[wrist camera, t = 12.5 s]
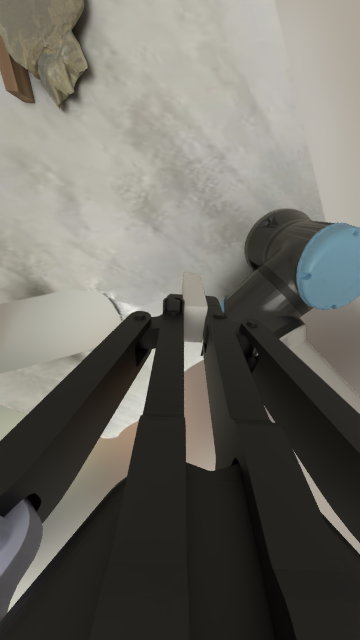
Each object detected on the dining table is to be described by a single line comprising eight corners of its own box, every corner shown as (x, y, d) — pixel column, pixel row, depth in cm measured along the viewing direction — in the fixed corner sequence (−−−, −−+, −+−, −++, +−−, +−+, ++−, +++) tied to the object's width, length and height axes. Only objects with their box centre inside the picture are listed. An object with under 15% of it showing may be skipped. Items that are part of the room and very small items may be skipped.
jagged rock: (44, 71, 34) (71, 122, 35) (-36, -2, 25) (4, 71, 25) (88, -25, 28) (121, 41, 28) (3, -171, 18) (55, -68, 19)
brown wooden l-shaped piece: (113, -100, 24) (101, -153, 20) (126, 111, 34) (119, 100, 30) (-32, -116, 24) (-70, -174, 20) (24, 102, 34) (4, 89, 30)
